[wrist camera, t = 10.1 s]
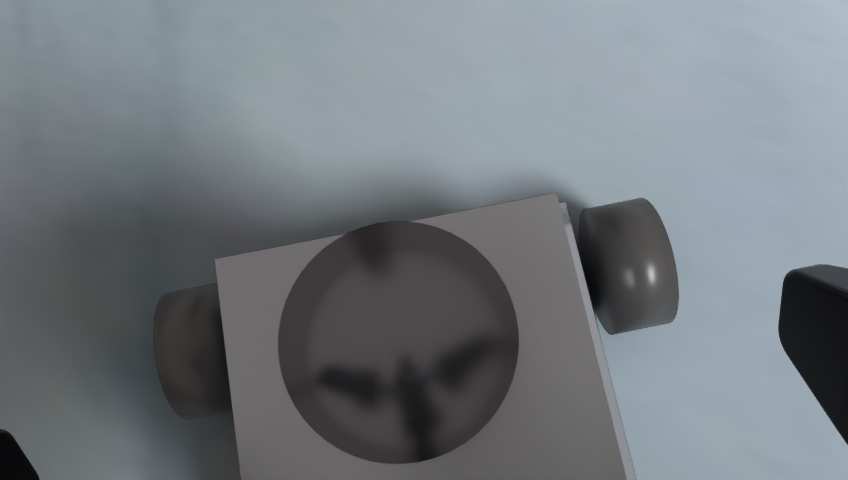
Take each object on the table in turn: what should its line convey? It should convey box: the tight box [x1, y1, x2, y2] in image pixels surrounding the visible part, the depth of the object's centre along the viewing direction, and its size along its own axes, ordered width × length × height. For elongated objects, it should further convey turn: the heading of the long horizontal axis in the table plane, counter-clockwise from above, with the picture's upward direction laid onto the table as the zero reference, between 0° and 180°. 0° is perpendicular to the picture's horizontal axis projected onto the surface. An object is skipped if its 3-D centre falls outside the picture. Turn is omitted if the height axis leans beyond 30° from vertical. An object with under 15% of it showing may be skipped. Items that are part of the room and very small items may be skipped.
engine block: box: [215, 193, 627, 480], centre depth 14 cm, size 6×6×12 cm
